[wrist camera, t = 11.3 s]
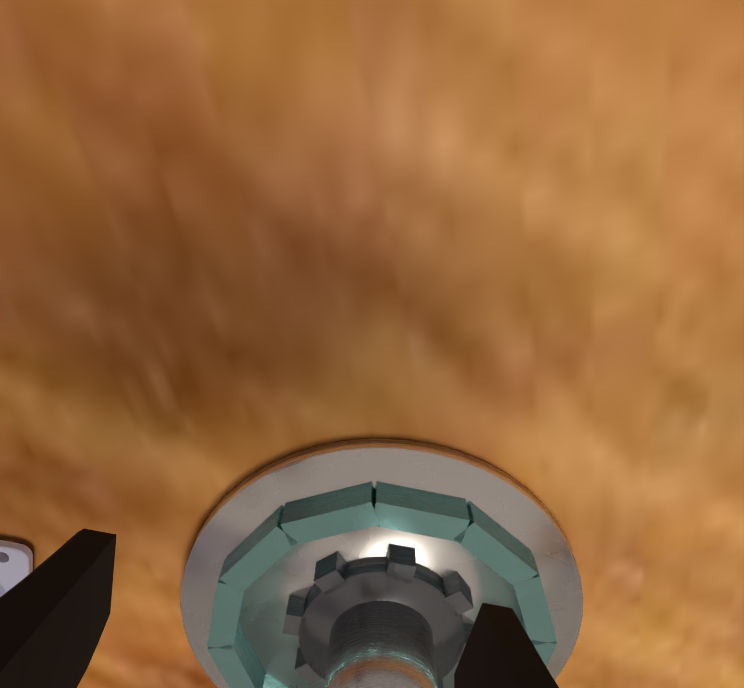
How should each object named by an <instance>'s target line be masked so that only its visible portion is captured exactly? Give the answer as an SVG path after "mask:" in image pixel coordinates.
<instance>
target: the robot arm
mask: <svg viewBox="0 0 744 688" xmlns="http://www.w3.org/2000/svg"><path fill="white" fill-rule="evenodd" d="M115 545H116V534H110V533H105V532H100V531H94V530H89V529H83V530H81V531H79V532H77V533H76V534H75V535H74V536H73V537H72V538H71V539H70V540H68V541H67V542H66V543H65V544H64V545H63V546H62V547H60V548H59V549H58V550H57V551H56V552H55V553H53V554H52V555H51V556H50V557H49V558H48V559H46V560H45V561H44V562H43V563H42V564H41V565H39V566H38V567H37V568H36V569H35V570H33V554H32V551H31V550H30V549H29V548H28V547H27V546H26V545H23V544H20V543H14V542H9V541H3V540H0V688H77V686H78V684H79V682H80V681H81V679H82V677H83V675H84V673H85V671H86V669H87V667H88V665H89V663H90V660H91V658H92V656H93V653H94V651H95V649H96V646H97V644H98V642H99V639H100V637H101V634H102V632H103V630H104V627H105V625H106V622H107V620H108V617H109V615H110V608H111V596H112V583H113V570H114V558H115ZM4 553H6V554H7V555H6V554H4ZM454 688H559V687H558V685H557V684H556V682H555V680H554V679H553V677H552V675H551V674H550V672H549V670H548V669H547V667H546V665H545V664H544V662H543V660H542V659H541V657H540V655H539V653H538V652H537V650H536V648H535V647H534V645H533V643H532V641H531V640H530V638H529V636H528V634H527V633H526V631H525V629H524V627H523V626H522V624H521V622H520V621H519V619H518V617H517V615H516V614H515V612H514V610H513V609H512V608H509V607H504V606H498V605H493V604H488V603H482V605H481V607H480V610H479V612H478V615H477V617H476V620H475V622H474V625H473V628H472V630H471V633H470V635H469V638H468V640H467V643H466V645H465V648H464V650H463V653H462V655H461V658H460V661H459V663H458V666H457V668H456V671H455V673H454Z"/></svg>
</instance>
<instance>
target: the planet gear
mask: <svg viewBox="0 0 744 688" xmlns="http://www.w3.org/2000/svg"><path fill="white" fill-rule="evenodd" d="M473 608H474V607H473V601H472V595H471V589H470V587H469V586H468V584H467V583H466V582H465V580H464V579H463V578H462V577H461V575H460V574H459V573H458V572H455V573H453V574H451V575H449V576H446V577H444V578H442V577H441V576H440V575H438V574H437V573H436V572H434V571H432V570H431V569H429V568H427V567H425V566H423V565H421V564H419V563H416V554H415V548H412V547H406V546H401V545H395V544H389V546H388V550H387V553H386V557H366V558H361V559H355V560H352V561H349V562H347V561H346V560H345V559H344V558H343V557H342V555H341V554H340V553H339V552H338V551H336V552H335V553H333V554H331V555H329V556H327V557H325V558H323V559H321V560H319V561H317V562H316V567H315V574H314V584H313V586H312V587H311V588H310V590H309V591H308V593H307V595H306V597H303V596H297V595H291V594H289V599H288V604H287V609H286V615H285V620H284V626H283V631H282V633H283V634H289V635H295V636H299V644H300V647H299V648H298V649H297V656H296V663H295V669H294V670H295V671H296V672H297V673H298V674H299V675H300V676H301V677H302V678H303V679H304V680H305V681H306V682H307V683H308V684H311V683H313V682H316V681H318V680H320V679H324V680H325V688H443V683H442V678H444V677H445V676H446V675H447V674H448V673H449V672H450V671H451V670H452V669H453V668H454V666H455V665H456V663H457V662H459V661H460V658H461V655H462V653H463V650H464V648H465V645H466V643H467V640H468V638H469V635H470V633H471V630H472V628H473V625H472V624H466V623H463V619H462V613H464V612H467V611H469V610H471V609H473Z"/></svg>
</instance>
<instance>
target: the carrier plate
mask: <svg viewBox="0 0 744 688" xmlns="http://www.w3.org/2000/svg"><path fill="white" fill-rule="evenodd" d="M389 544H395V545H401V546H406V547H412V548H415V554H416V563H419V564H421V565H423V566H425V567H427V568H429V569H431V570H432V571H434V572H436V573H437V574H438V575H440V576H441V577H442V578H444V577H446V576H449V575H451V574H453V573H455V572H458V573H459V574H460V575H461V577H462V578H463V579H464V580H465V582H466V583H467V584H468V586H469V587H470V589H471V595H472V601H473V607H474V608H473V609H471V610H469V611H467V612H464V613H462V619H463V623H466V624H472V625H474V622H475V620H476V617H477V615H478V612H479V610H480V607H481V605H482V603H488V604H493V605H498V606H504V607H509V608H512V609H513V610H514V612H515V614H516V615H517V617H518V619H519V621H520V622H521V624H522V626H523V627H524V629H525V631H526V633H527V634H528V636H529V638H530V640H531V641H532V643H533V645H534V647H535V648H536V650H537V652H538V653H539V655H540V657H541V659H542V660H543V662H544V664H545V665H546V667H547V669H548V670H549V672H550V674H551V675H552V677H553V679H554V680H555V678H556V677H557V676H558V675H559V673H560V672H561V671H562V669H563V667H564V666H565V664H566V662H567V660H568V659H569V657H570V655H571V653H572V651H573V648H574V646H575V643H576V641H577V638H578V635H579V630H580V625H581V621H582V612H583V593H582V586H581V579H580V575H579V572H578V569H577V566H576V563H575V560H574V557H573V554H572V552H571V549H570V546H569V544H568V542H567V540H566V538H565V536H564V534H563V532H562V530H561V528H560V526H559V525H558V523H557V521H556V520H555V519H554V517H553V516H552V515H551V514H550V512H549V511H548V510H547V508H546V507H545V506H544V504H543V503H542V502H540V501H539V500H538V499H537V498H536V497H535V496H534V495H533V494H532V493H531V492H530V491H529V490H528V489H527V488H526V487H525V486H523V485H522V484H520V483H519V482H518V481H516V480H515V479H514V478H512V477H511V476H510V475H508V474H507V473H505V472H503V471H502V470H500V469H498V468H496V467H494V466H492V465H491V464H489V463H487V462H485V461H483V460H481V459H478V458H476V457H473V456H471V455H468V454H466V453H463V452H460V451H458V450H454V449H450V448H447V447H443V446H439V445H435V444H432V443H425V442H419V441H412V440H405V439H382V438H370V439H358V440H345V441H340V442H335V443H330V444H325V445H320V446H315V447H312V448H309V449H306V450H303V451H300V452H297V453H294V454H291V455H288V456H286V457H284V458H282V459H280V460H278V461H276V462H273V463H271V464H269V465H267V466H265V467H264V468H262V469H260V470H259V471H257V472H256V473H254V474H253V475H251V476H249V477H248V478H246V479H245V480H244V481H242V482H241V483H240V484H239V485H238V486H237V487H235V488H234V489H233V490H232V491H231V492H229V493H228V494H227V495H226V496H225V497H224V498H223V500H222V501H221V502H220V503H219V504H218V505H217V506H216V508H215V509H214V510H213V511H212V512H211V514H210V515H209V517H208V518H207V520H206V522H205V523H204V525H203V526H202V528H201V529H200V531H199V534H198V536H197V538H196V541H195V543H194V546H193V548H192V550H191V553H190V555H189V558H188V560H187V563H186V566H185V571H184V575H183V579H182V584H181V603H180V604H181V612H182V620H183V625H184V629H185V632H186V635H187V639H188V642H189V644H190V646H191V648H192V650H193V652H194V654H195V656H196V659H197V660H198V662H199V663H200V665H201V666H202V668H203V669H204V671H205V672H206V674H207V675H208V677H209V678H210V679H211V680H212V681H213V682H214V683H215V684H216V685H217V687H218V688H325V680H324V679H320V680H318V681H316V682H313V683H311V684H308V683H307V682H306V681H305V680H304V679H303V678H302V677H301V676H300V675H299V674H298V673H297V672H296V671H295V670H294V669H295V663H296V656H297V649H298V648H299V647H300V644H299V636H295V635H289V634H283V633H282V631H283V626H284V620H285V615H286V609H287V604H288V599H289V594H291V595H297V596H303V597H306V595H307V593H308V591H309V590H310V588H311V587H312V586H313V584H314V574H315V567H316V562H317V561H319V560H321V559H323V558H325V557H327V556H329V555H331V554H333V553H335V552H336V551H338V552H339V553H340V554H341V555H342V557H343V558H344V559H345V560H346V561H347V562H349V561H352V560H355V559H361V558H366V557H386V553H387V550H388V546H389ZM458 663H459V662H457V663H456V665H455V666H454V668H453V669H452V670H451V671H450V672H449V673H448V674H447V675H446V676H445V677H444V678H442V683H443V688H454V673H455V671H456V668H457V666H458Z"/></svg>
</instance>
